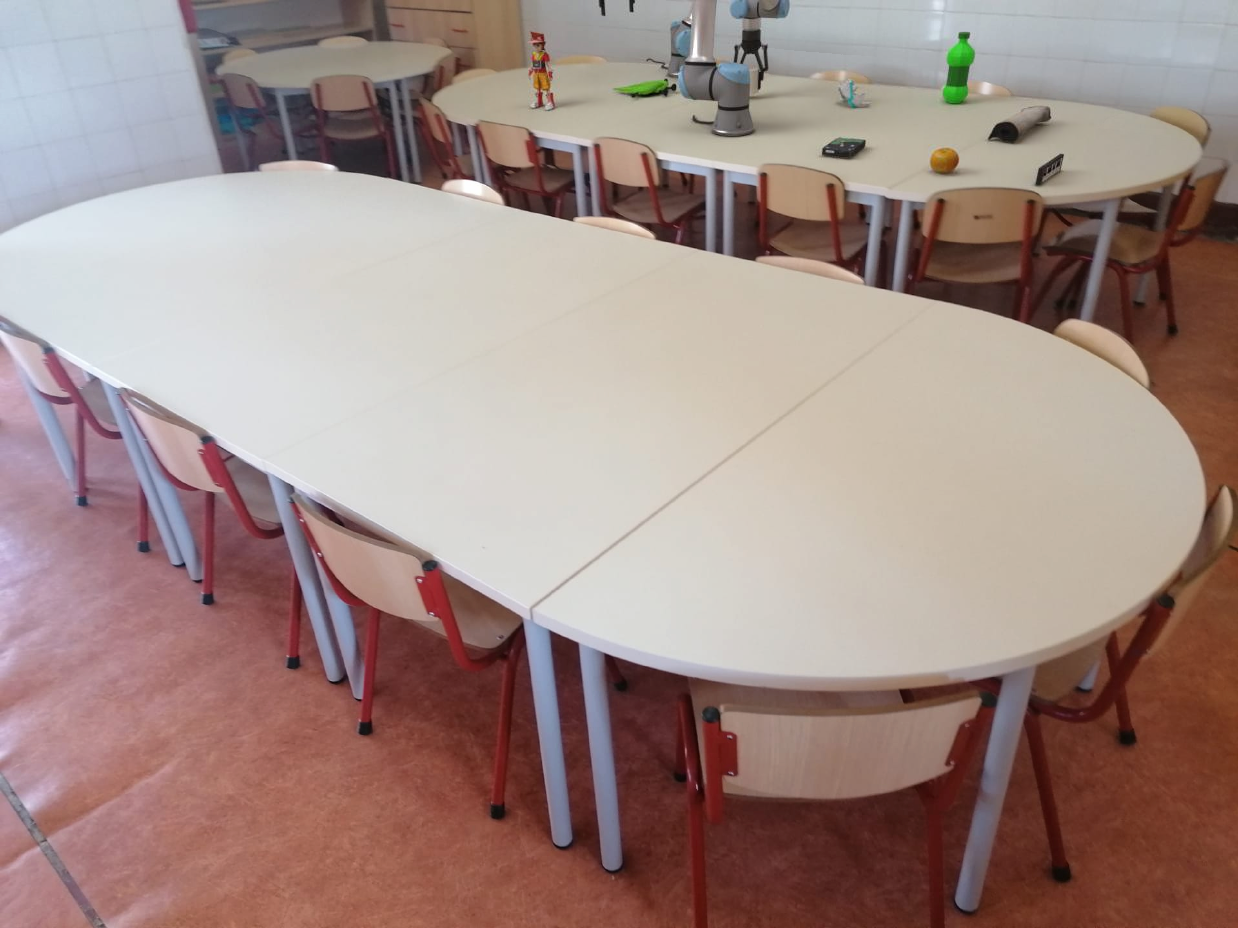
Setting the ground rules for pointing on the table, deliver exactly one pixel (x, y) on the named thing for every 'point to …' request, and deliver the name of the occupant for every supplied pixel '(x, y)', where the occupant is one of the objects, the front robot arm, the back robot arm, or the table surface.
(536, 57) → the toy
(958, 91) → the plastic bottle
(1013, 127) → the rolled mat
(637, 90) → the toy
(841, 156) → the disk drive
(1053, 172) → the midi keyboard
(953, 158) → the fruit
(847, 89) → the anatomical model
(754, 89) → the can
